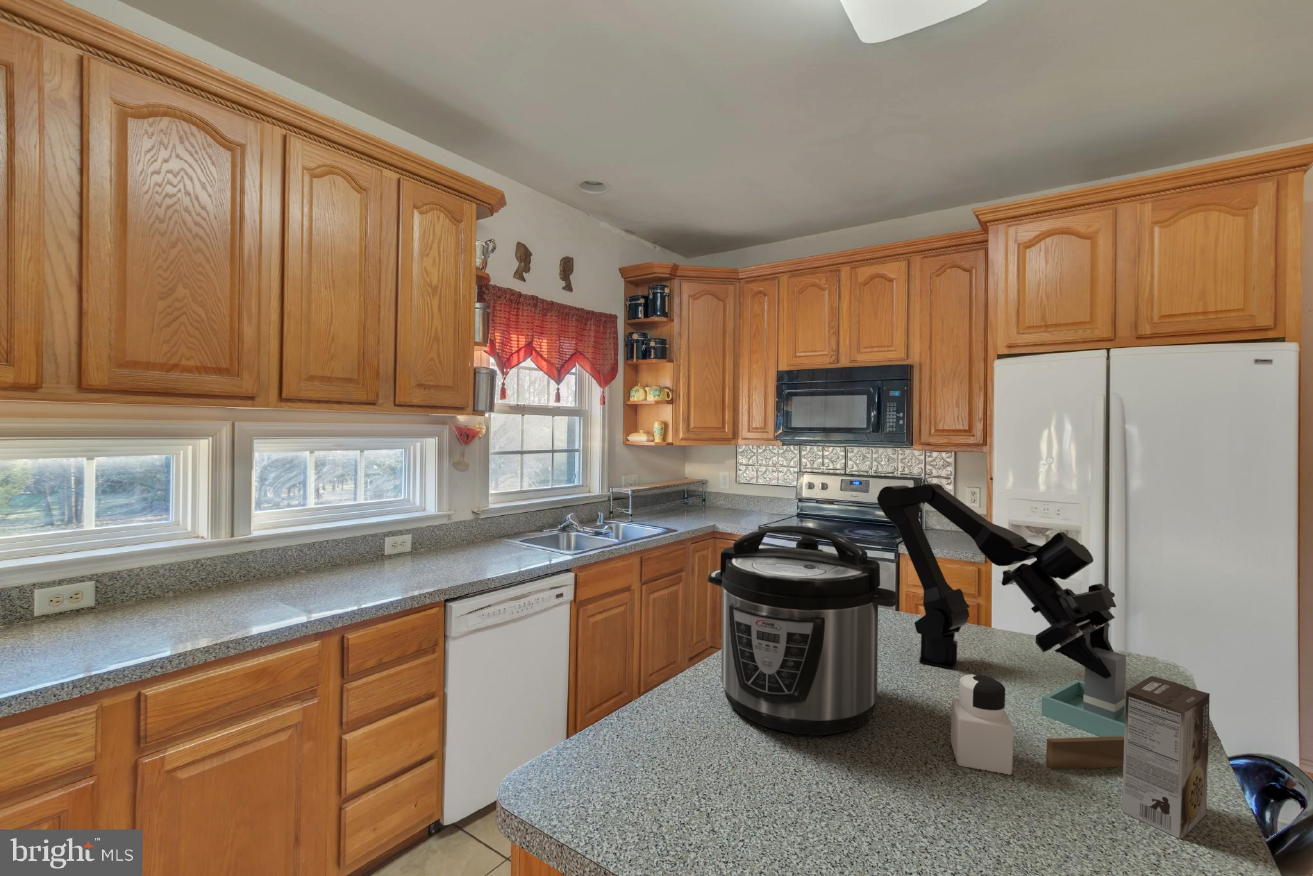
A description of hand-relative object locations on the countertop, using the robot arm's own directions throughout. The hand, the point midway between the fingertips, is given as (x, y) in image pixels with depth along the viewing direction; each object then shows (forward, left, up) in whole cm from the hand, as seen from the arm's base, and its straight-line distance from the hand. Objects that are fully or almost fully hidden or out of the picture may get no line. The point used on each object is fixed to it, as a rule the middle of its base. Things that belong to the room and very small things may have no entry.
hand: (1114, 674), depth 101 cm
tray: (-1, +1, -8) cm, 9 cm away
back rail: (-5, -18, -8) cm, 21 cm away
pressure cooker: (-48, -22, -9) cm, 54 cm away
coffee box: (+2, -26, -9) cm, 28 cm away
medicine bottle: (-19, -24, -9) cm, 32 cm away
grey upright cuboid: (-1, +1, -7) cm, 7 cm away
